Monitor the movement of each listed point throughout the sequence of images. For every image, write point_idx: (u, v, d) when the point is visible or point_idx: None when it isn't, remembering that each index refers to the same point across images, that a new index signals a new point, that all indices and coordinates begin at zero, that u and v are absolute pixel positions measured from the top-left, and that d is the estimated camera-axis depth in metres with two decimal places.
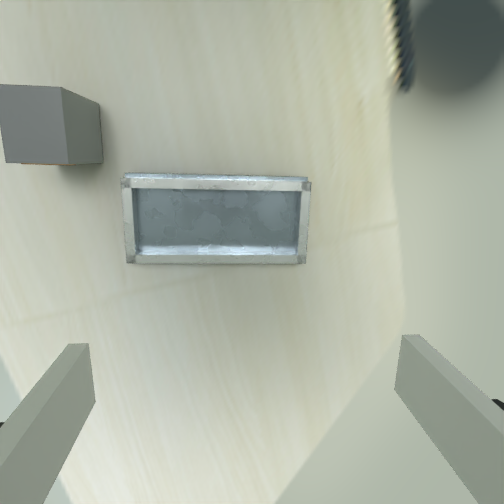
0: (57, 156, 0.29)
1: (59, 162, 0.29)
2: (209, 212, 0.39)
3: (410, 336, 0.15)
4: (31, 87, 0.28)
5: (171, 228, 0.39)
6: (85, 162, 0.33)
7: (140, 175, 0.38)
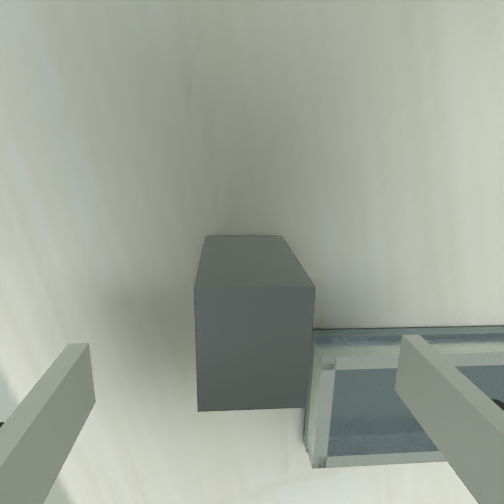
0: (289, 397, 0.16)
1: (291, 405, 0.16)
2: None
3: (410, 336, 0.15)
4: (262, 290, 0.14)
5: (371, 406, 0.26)
6: None
7: (337, 339, 0.24)
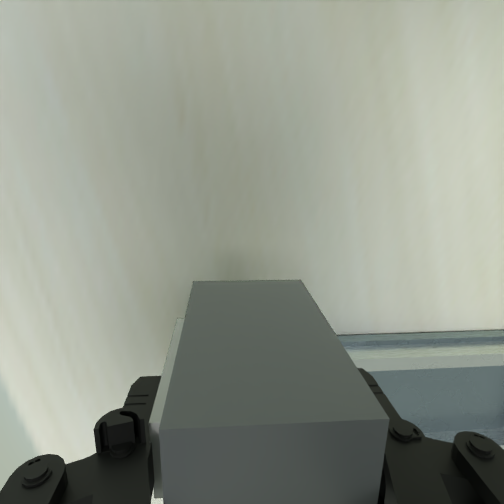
0: None
1: None
2: (409, 387, 0.28)
3: None
4: (290, 427, 0.08)
5: None
6: None
7: None
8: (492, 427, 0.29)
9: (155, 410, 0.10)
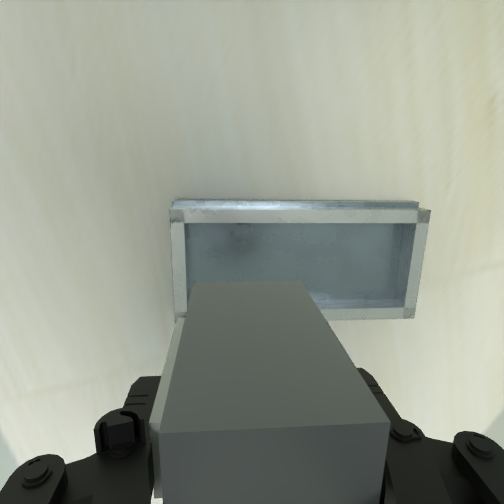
0: None
1: None
2: (285, 251, 0.29)
3: None
4: (290, 431, 0.07)
5: (233, 273, 0.29)
6: None
7: (193, 203, 0.27)
8: (372, 298, 0.31)
9: (155, 410, 0.10)
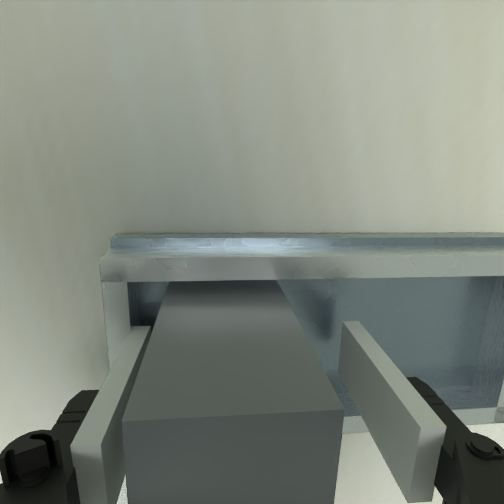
0: None
1: None
2: (305, 319, 0.17)
3: (350, 322, 0.16)
4: (249, 418, 0.08)
5: None
6: None
7: (148, 242, 0.16)
8: (439, 385, 0.19)
9: (81, 430, 0.09)
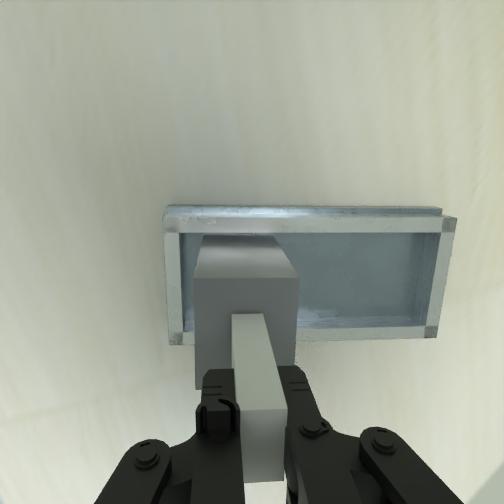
0: None
1: None
2: (293, 263, 0.26)
3: (253, 315, 0.16)
4: (253, 280, 0.16)
5: None
6: None
7: (190, 210, 0.24)
8: (388, 314, 0.28)
9: (240, 399, 0.11)
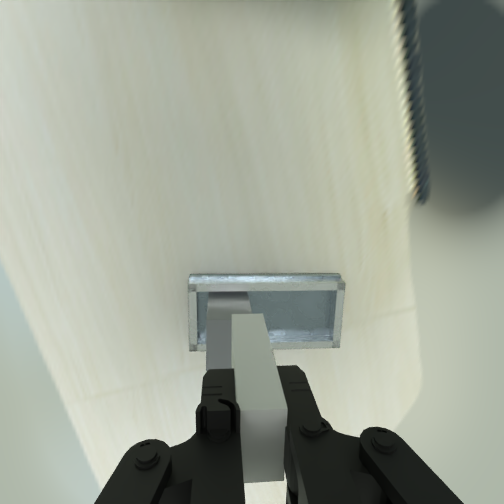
0: None
1: None
2: (258, 306, 0.46)
3: (253, 315, 0.16)
4: None
5: None
6: None
7: (201, 277, 0.45)
8: (314, 334, 0.48)
9: (240, 399, 0.11)
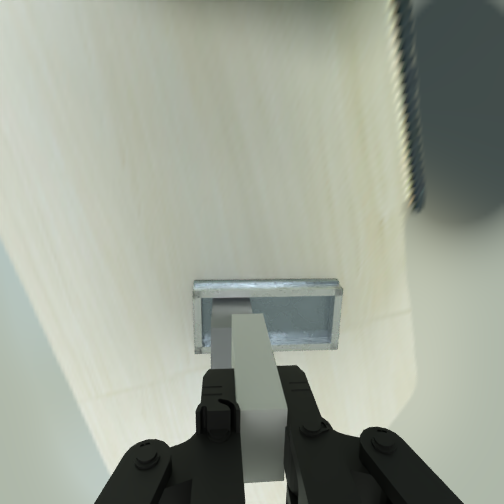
0: None
1: None
2: (260, 310, 0.49)
3: (253, 315, 0.16)
4: None
5: None
6: None
7: (206, 284, 0.47)
8: (313, 336, 0.50)
9: (240, 399, 0.11)
